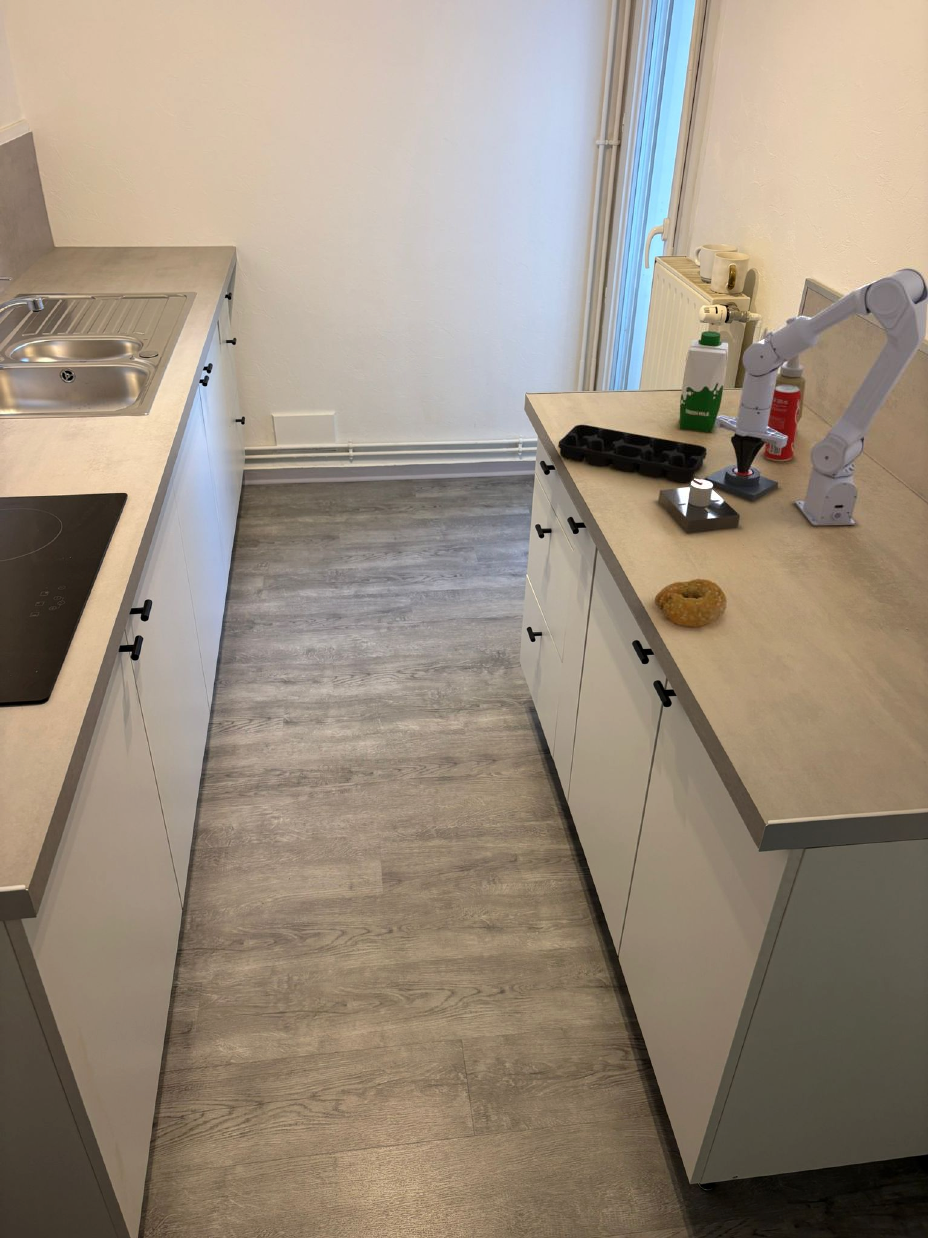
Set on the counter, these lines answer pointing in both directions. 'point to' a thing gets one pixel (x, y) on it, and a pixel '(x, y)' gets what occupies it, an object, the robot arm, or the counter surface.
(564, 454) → the egg carton
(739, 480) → the switch block
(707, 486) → the hob knob
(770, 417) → the beverage can
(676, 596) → the bagel
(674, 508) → the panel
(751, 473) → the power button
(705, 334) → the milk carton
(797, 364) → the squeeze bottle
